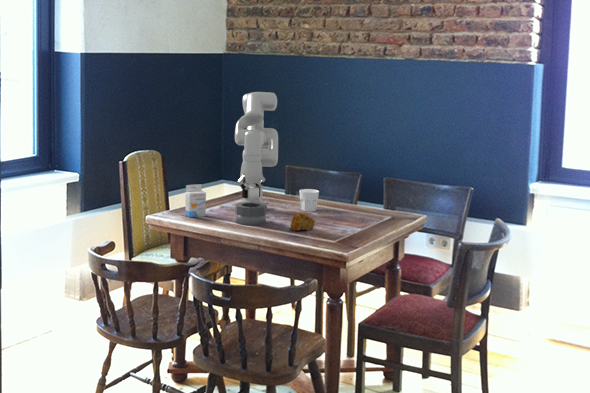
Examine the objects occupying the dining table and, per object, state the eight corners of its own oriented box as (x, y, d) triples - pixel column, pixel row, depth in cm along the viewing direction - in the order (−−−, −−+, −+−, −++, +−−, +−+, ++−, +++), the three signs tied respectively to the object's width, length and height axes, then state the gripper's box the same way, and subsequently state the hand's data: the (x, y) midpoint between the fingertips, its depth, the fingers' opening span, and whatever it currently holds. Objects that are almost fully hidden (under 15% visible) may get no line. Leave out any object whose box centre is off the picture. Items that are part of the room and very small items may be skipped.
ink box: (189, 217, 308) (189, 186, 306) (185, 215, 312) (185, 185, 310) (206, 216, 313) (206, 185, 310) (201, 214, 317) (201, 184, 314)
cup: (307, 212, 330) (308, 193, 328) (294, 209, 338) (295, 190, 336) (322, 210, 336) (323, 191, 334) (309, 207, 344) (310, 188, 342)
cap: (251, 196, 307) (252, 185, 306) (262, 199, 302) (262, 187, 301) (240, 198, 302) (240, 186, 301) (250, 200, 297) (251, 188, 296)
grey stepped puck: (251, 217, 314) (252, 200, 313) (272, 222, 305) (272, 205, 303) (229, 221, 304) (229, 204, 303) (249, 226, 295) (250, 209, 293)
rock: (291, 236, 298) (301, 218, 302) (307, 242, 294) (317, 224, 298) (286, 223, 289) (296, 205, 293) (302, 229, 285) (312, 211, 289)
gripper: (260, 156, 308) (259, 194, 311) (232, 158, 295) (231, 197, 299) (271, 158, 303) (270, 196, 306) (243, 160, 290) (242, 200, 293)
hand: (251, 196), depth 302 cm, fingers closed on cap, 7 cm apart
